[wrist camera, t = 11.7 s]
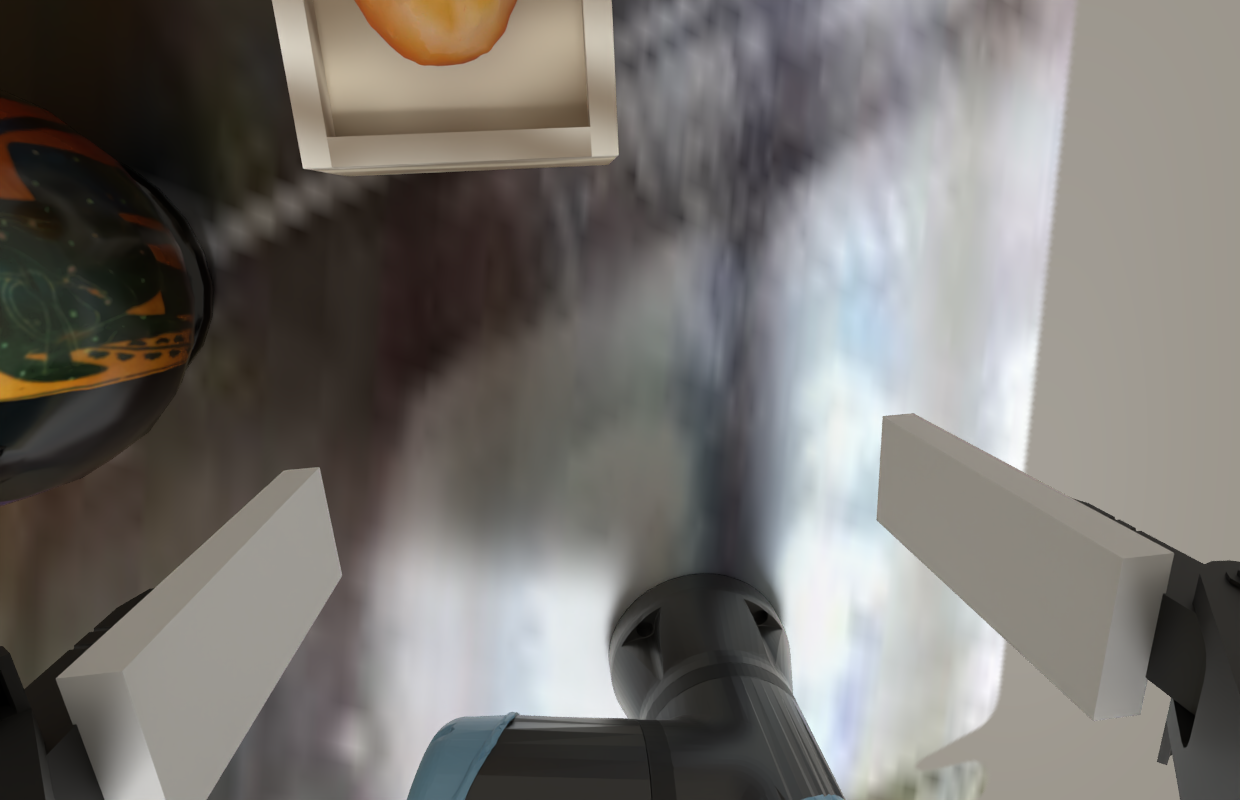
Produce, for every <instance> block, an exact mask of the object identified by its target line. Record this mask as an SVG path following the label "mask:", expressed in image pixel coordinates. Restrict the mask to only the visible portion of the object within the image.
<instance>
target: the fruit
mask: <svg viewBox="0 0 1240 800" xmlns="http://www.w3.org/2000/svg"><path fill="white" fill-rule="evenodd" d="M354 1H355V2H356V4H357V5H358V7H359V8H360V10H361V12H362V13H363V15H364V17H365V18H366V20H367V22H368V23H369V24H370V26H371V27H372V28H373V29H374V30H375V31H376V32H377V33H378V34H379V35H380V36H381V37H382V38H383V39H384V40H385V41H386V42H387V43H388V44H389V45H390V46H391V47H392V48H393V49H394V50H395V51H396V52H398V53H399V54H400V55H401V56H403V57H404V58H406V59H408V60H411V61H413V62H416V63H417V64H419V65H423V66H449V65H458V64H464V63H467V62H470V61H473V60H475V59H477V58H478V57H479V56H481V55H483V54H486V53H488V52H489V51H490V50H491V49H492V47H493V46H494V45H495V43H496V42H497V41H498V40H499V39H500V38H501V36H502V35H503V34H504V32H505V31H506V28H507V24H508V21H509V18H510V15H511V13H512V11H513V9H514V7H515V5H516V2H517V0H354Z"/></svg>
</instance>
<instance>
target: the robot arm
mask: <svg viewBox="0 0 1240 800" xmlns="http://www.w3.org/2000/svg"><path fill="white" fill-rule="evenodd" d="M877 521H878V522H879V523H880V524H881V525H882V526H884V527H885V528H886V529H887V530H888V531H889V532H890V533H891V534H892V535H893V536H894V537H895V538H896V539H898V540H899V541H900V542H901V543H902V544H903V545H904V546H905V547H906V548H907V549H908V550H909V551H910V552H912V553H913V554H914V555H915V556H916V557H917V558H918V559H919V560H920V561H921V562H922V563H923V564H924V565H926V566H927V567H928V568H929V569H930V570H931V571H932V572H933V573H934V574H935V575H936V576H937V577H938V578H940V579H941V580H942V581H943V582H944V583H945V584H946V585H947V586H948V587H949V588H950V589H951V590H952V591H954V592H955V593H956V594H957V595H958V596H959V597H960V598H961V599H962V600H963V601H964V602H965V603H966V604H967V605H969V606H970V607H971V608H972V609H973V610H974V611H975V612H976V613H977V614H978V615H979V616H980V617H981V618H983V619H984V620H985V621H986V622H987V623H988V624H989V625H990V626H991V627H992V628H993V629H994V630H995V631H997V632H998V633H999V634H1000V635H1001V636H1002V637H1003V638H1004V639H1005V640H1006V641H1007V642H1008V643H1009V644H1011V645H1012V646H1013V647H1014V648H1015V649H1016V650H1017V651H1018V652H1019V653H1020V654H1021V655H1022V656H1023V657H1025V658H1026V659H1027V660H1028V661H1029V662H1030V663H1031V664H1032V665H1033V666H1034V667H1035V668H1036V669H1037V670H1039V671H1040V672H1041V673H1042V674H1043V675H1044V676H1045V677H1046V678H1047V679H1048V680H1049V681H1050V682H1051V683H1053V684H1054V685H1055V686H1056V687H1057V688H1058V689H1059V690H1060V691H1061V692H1062V693H1063V694H1064V695H1066V696H1067V697H1068V698H1069V699H1070V700H1071V701H1072V702H1073V703H1074V704H1075V705H1076V706H1077V707H1078V708H1079V709H1081V710H1082V711H1083V712H1084V713H1085V714H1086V715H1087V716H1088V717H1089V718H1090V719H1091V720H1093V721H1097V720H1105V719H1112V718H1120V717H1127V716H1134V715H1140V714H1141V709H1142V704H1143V699H1144V694H1145V690H1146V685H1147V680H1149V681H1151V682H1152V683H1153V684H1155V685H1156V686H1157V687H1158V688H1160V689H1161V690H1162V691H1164V692H1165V693H1166V694H1167V695H1169V696H1170V697H1171V702H1170V707H1169V711H1168V715H1167V720H1166V724H1165V728H1164V733H1163V737H1162V742H1161V746H1160V751H1159V755H1158V760H1157V762H1159V763H1162V764H1166V765H1167V763H1168V760H1169V757H1170V756H1171V755H1173V761H1174V767H1175V772H1176V778H1177V784H1178V789H1179V795H1180V800H1240V562H1237V561H1212V562H1209V563H1207V564H1203V563H1201V562H1199V561H1197V560H1195V559H1193V558H1191V557H1189V556H1187V555H1186V554H1184V553H1182V552H1180V551H1178V550H1176V549H1174V548H1172V547H1170V546H1168V545H1167V544H1165V543H1163V542H1161V541H1159V540H1157V539H1155V538H1153V537H1151V536H1150V535H1147V534H1146V533H1144V532H1142V531H1136V529H1135V528H1134V527H1132V526H1130V525H1129V524H1127V523H1125V522H1123V521H1121V520H1115V517H1113V516H1112V515H1110V514H1108V513H1106V512H1104V511H1102V510H1100V509H1098V508H1096V507H1095V506H1093V505H1091V504H1089V503H1086V502H1083V501H1079V500H1076V499H1073V498H1071V497H1069V496H1067V495H1065V494H1063V493H1061V492H1059V491H1057V490H1056V489H1054V488H1052V487H1050V486H1048V485H1046V484H1044V483H1042V482H1041V481H1039V480H1037V479H1035V478H1033V477H1031V476H1029V475H1028V474H1026V473H1024V472H1022V471H1020V470H1018V469H1016V468H1015V467H1013V466H1011V465H1009V464H1007V463H1005V462H1003V461H1001V460H1000V459H998V458H996V457H994V456H992V455H990V454H988V453H986V452H985V451H983V450H981V449H979V448H977V447H975V446H973V445H971V444H970V443H968V442H966V441H964V440H962V439H960V438H958V437H957V436H955V435H953V434H951V433H949V432H947V431H945V430H943V429H942V428H940V427H938V426H936V425H934V424H932V423H930V422H928V421H927V420H925V419H923V418H921V417H919V416H917V415H915V414H914V413H913V414H901V415H890V416H883V422H882V439H881V455H880V472H879V488H878V505H877ZM341 577H342V573H341V568H340V563H339V558H338V553H337V549H336V544H335V539H334V534H333V530H332V525H331V520H330V515H329V510H328V506H327V501H326V496H325V491H324V487H323V482H322V477H321V472H320V467H316V468H305V469H293V470H284V471H283V472H282V473H281V474H279V475H278V476H277V477H276V478H275V479H274V480H273V481H272V482H271V483H270V484H269V485H267V486H266V487H265V488H264V489H263V490H262V491H261V492H260V493H259V494H258V495H256V496H255V497H254V498H253V499H252V500H251V501H250V502H249V503H248V504H247V505H245V506H244V507H243V508H242V509H241V510H240V511H239V512H238V513H237V514H236V515H234V516H233V517H232V518H231V519H230V520H229V521H228V522H227V523H226V524H225V525H224V526H222V527H221V528H220V529H219V530H218V531H217V532H216V533H215V534H214V535H213V536H211V537H210V538H209V539H208V540H207V541H206V542H205V543H204V544H203V545H202V546H200V547H199V548H198V549H197V550H196V551H195V552H194V553H193V554H192V555H191V556H190V557H188V558H187V559H186V560H185V561H184V562H183V563H182V564H181V565H180V566H179V567H177V568H176V569H175V570H174V571H173V572H172V573H171V574H170V575H169V576H168V577H166V578H165V579H164V580H163V581H162V582H161V583H160V584H159V585H158V586H157V587H156V588H153V589H149V590H147V591H145V592H144V593H142V594H140V595H138V596H137V597H135V598H133V599H131V600H130V601H128V602H126V603H125V604H123V605H121V606H119V607H118V608H116V609H115V610H114V611H113V612H112V613H111V614H110V615H108V616H107V617H106V618H105V619H104V620H103V621H102V622H101V623H99V624H98V625H97V626H96V627H95V628H94V632H89V633H88V634H87V635H86V636H85V637H83V638H82V639H81V640H80V641H79V642H78V643H77V644H75V645H74V650H69V651H67V652H66V653H65V654H64V655H63V656H62V657H61V658H60V659H58V660H57V661H56V662H55V663H54V664H53V665H52V666H50V667H49V668H48V669H47V670H46V671H45V672H44V673H42V674H41V675H40V676H39V677H38V678H37V679H36V680H34V681H33V682H32V683H31V684H30V685H29V686H28V687H26V688H25V689H24V688H23V686H22V683H21V681H20V678H19V676H18V673H17V670H16V668H15V665H14V663H13V660H12V658H11V655H10V653H9V652H8V651H7V650H6V649H5V648H4V647H3V646H0V800H206V799H207V798H208V796H209V795H210V793H211V791H212V790H213V788H214V786H215V785H216V783H217V781H218V780H219V778H220V776H221V775H222V773H223V771H224V770H225V768H226V766H227V765H228V763H229V762H230V760H231V758H232V757H233V755H234V753H235V752H236V750H237V748H238V747H239V745H240V743H241V742H242V740H243V738H244V737H245V735H246V733H247V732H248V730H249V729H250V727H251V725H252V724H253V722H254V720H255V719H256V717H257V715H258V714H259V712H260V710H261V709H262V707H263V705H264V704H265V702H266V700H267V699H268V697H269V695H270V694H271V692H272V691H273V689H274V687H275V686H276V684H277V682H278V681H279V679H280V677H281V676H282V674H283V672H284V671H285V669H286V667H287V666H288V664H289V662H290V661H291V659H292V658H293V656H294V654H295V653H296V651H297V649H298V648H299V646H300V644H301V643H302V641H303V639H304V638H305V636H306V634H307V633H308V631H309V629H310V628H311V626H312V624H313V623H314V621H315V620H316V618H317V616H318V615H319V613H320V611H321V610H322V608H323V606H324V605H325V603H326V601H327V600H328V598H329V596H330V595H331V593H332V591H333V590H334V588H335V587H336V585H337V583H338V582H339V580H340V578H341ZM609 664H610V672H611V680H612V686H613V689H614V693H615V695H616V698H617V700H618V702H619V704H620V706H621V708H622V709H623V711H624V713H625V714H626V716H627V718H628V719H623V718H579V717H547V716H525V715H519V713H515V712H510V713H508V714H507V715H502V716H480V717H461V718H457V719H455V720H452V721H450V722H449V723H447V724H446V725H444V726H443V727H442V728H441V729H440V730H439V731H438V732H437V734H436V735H435V736H434V738H433V739H432V741H431V743H430V744H429V746H428V748H427V750H426V752H425V754H424V756H423V758H422V761H421V763H420V765H419V768H418V770H417V773H416V775H415V778H414V781H413V783H412V786H411V789H410V792H409V795H408V798H407V800H845V798H844V796H843V794H842V792H841V790H840V788H839V786H838V784H837V782H836V780H835V778H834V776H833V774H832V772H831V770H830V768H829V766H828V764H827V762H826V760H825V758H824V756H823V754H822V752H821V750H820V748H819V746H818V744H817V742H816V740H815V738H814V736H813V734H812V732H811V730H810V728H809V726H808V724H807V722H806V720H805V718H804V716H803V714H802V712H801V710H800V708H799V706H798V704H797V702H796V700H795V698H794V696H793V686H792V671H791V656H790V647H789V642H788V638H787V635H786V632H785V629H784V627H783V625H782V623H781V621H780V620H779V618H778V616H777V614H776V612H775V610H774V609H773V607H772V606H771V604H770V603H769V601H768V600H767V599H766V598H765V597H764V596H763V595H762V594H761V593H760V592H758V591H757V590H756V589H754V588H753V587H751V586H750V585H748V584H746V583H744V582H742V581H740V580H737V579H734V578H731V577H727V576H722V575H716V574H695V575H688V576H683V577H679V578H675V579H672V580H669V581H667V582H664V583H662V584H660V585H658V586H656V587H654V588H652V589H651V590H649V591H648V592H646V593H645V594H643V595H642V596H641V597H639V598H638V599H637V600H636V601H635V602H634V603H633V604H632V605H631V606H630V607H629V608H628V609H627V610H626V612H625V613H624V614H623V616H622V617H621V619H620V620H619V622H618V624H617V626H616V628H615V630H614V633H613V636H612V639H611V643H610V649H609Z"/></svg>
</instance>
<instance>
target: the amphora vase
mask: <svg viewBox="0 0 1240 800" xmlns="http://www.w3.org/2000/svg"><path fill="white" fill-rule="evenodd" d="M212 306H213V284H212V280H211V276H210V273H209V269H208V265H207V261H206V258H205V254H204V251H203V249H202V247H201V245H200V244H199V242H198V240H197V238H196V236H195V235H194V233H193V231H192V229H191V227H190V225H189V224H188V222H187V220H186V218H185V217H184V216H183V215H182V214H181V213H180V212H179V211H178V209H177V208H176V207H175V206H174V205H173V204H172V203H171V201H170V200H169V199H168V198H167V197H166V196H165V195H164V194H163V192H162V191H161V190H160V189H159V188H157V187H156V186H154V185H153V184H152V183H150V182H149V181H148V180H146V179H145V178H143V177H142V176H141V175H139V174H138V173H137V172H135V171H134V170H132V169H131V168H130V167H128V166H127V165H125V164H122V163H120V162H118V161H117V160H115V159H114V158H113V157H111V156H110V155H109V154H107V153H106V152H104V151H103V150H102V149H100V148H99V147H98V146H96V145H95V144H93V143H92V142H91V141H89V140H88V139H86V138H85V137H84V136H82V135H81V134H80V133H78V132H77V131H75V130H74V129H73V128H71V127H70V126H69V125H67V124H66V123H64V122H63V121H62V120H60V119H59V118H57V117H56V116H55V115H53V114H52V113H50V112H49V111H48V110H46V109H44V108H41V107H39V106H37V105H35V104H32V103H30V102H28V101H26V100H23V99H21V98H19V97H17V96H15V95H12V94H10V93H8V92H6V91H3V90H1V89H0V507H1V506H4V505H7V504H10V503H13V502H16V501H19V500H22V499H25V498H28V497H31V496H34V495H37V494H40V493H43V492H45V491H48V490H51V489H53V488H56V487H59V486H62V485H64V484H67V483H70V482H73V481H75V480H78V479H81V478H83V477H85V476H86V475H88V474H89V473H91V472H92V471H94V470H96V469H97V468H99V467H100V466H102V465H103V464H105V463H107V462H108V461H110V460H111V459H113V458H114V457H116V456H117V455H118V454H120V453H121V452H122V451H124V450H125V449H126V448H128V447H129V446H131V445H132V444H133V443H135V442H136V441H137V440H139V439H140V438H141V437H143V436H144V435H146V434H147V433H148V432H149V431H150V430H151V428H152V427H153V426H154V424H155V423H156V421H157V420H158V419H159V417H160V416H161V414H162V413H163V412H164V410H165V409H166V407H167V406H168V405H169V403H170V402H171V400H172V399H173V397H174V396H175V394H176V392H177V391H178V389H179V387H180V385H181V383H182V380H183V377H184V374H185V371H186V369H187V368H188V367H189V365H190V364H191V362H192V361H193V359H194V358H195V357H196V355H197V354H198V352H199V351H200V350H201V348H202V347H203V345H204V342H205V338H206V335H207V332H208V329H209V326H210V323H211V320H212Z"/></svg>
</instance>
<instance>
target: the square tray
mask: <svg viewBox="0 0 1240 800" xmlns="http://www.w3.org/2000/svg"><path fill="white" fill-rule="evenodd" d="M272 3H273V8H274V14H275V19H276V25H277V30H278V35H279V41H280V46H281V52H282V57H283V63H284V68H285V73H286V79H287V84H288V90H289V95H290V101H291V106H292V111H293V117H294V122H295V128H296V133H297V139H298V144H299V149H300V155H301V160H302V166H303V169H308V170H314V171H320V172H326V173H331V174H337V175H343V176H366V175H389V174H411V173H434V172H456V171H479V170H501V169H524V168H546V167H569V166H591V165H608V164H610V163H611V162H612V161H613V160H614V159H615V158H616V157H617V156H618V155H619V150H618V128H617V106H616V84H615V62H614V40H613V18H612V0H517V2H516V5H515V7H514V9H513V11H512V13H511V15H510V18H509V21H508V24H507V28H506V31H505V32H504V34H503V35H502V36H501V38H500V39H499V40H498V41H497V42H496V43H495V45H494V46H493V47H492V49H491V50H490V51H489V52H488V53H486V54H483V55H481V56H479V57H478V58H477V59H475V60H473V61H470V62H467V63H464V64H458V65H449V66H423V65H419V64H417V63H416V62H413V61H411V60H408V59H406V58H404V57H403V56H401V55H400V54H399V53H398V52H396V51H395V50H394V49H393V48H392V47H391V46H390V45H389V44H388V43H387V42H386V41H385V40H384V39H383V38H382V37H381V36H380V35H379V34H378V33H377V32H376V31H375V30H374V29H373V28H372V27H371V26H370V24H369V23H368V22H367V20H366V18H365V17H364V15H363V13H362V12H361V10H360V8H359V7H358V5H357V4H356V2H355V1H354V0H272Z"/></svg>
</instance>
